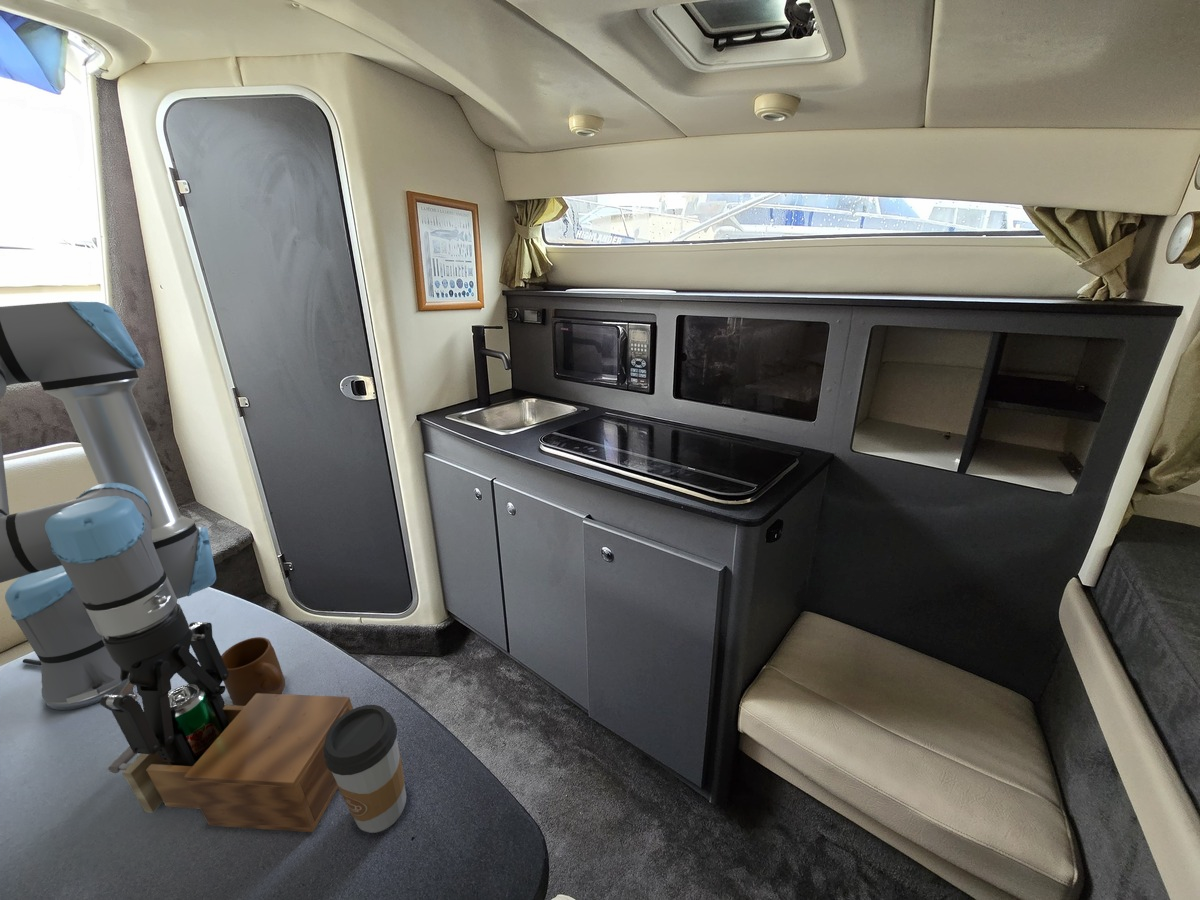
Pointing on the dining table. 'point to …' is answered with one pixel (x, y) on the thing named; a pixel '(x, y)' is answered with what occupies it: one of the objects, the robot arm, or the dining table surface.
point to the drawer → (160, 776)
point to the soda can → (194, 718)
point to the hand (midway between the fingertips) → (204, 749)
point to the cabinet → (270, 765)
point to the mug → (252, 670)
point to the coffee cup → (367, 766)
